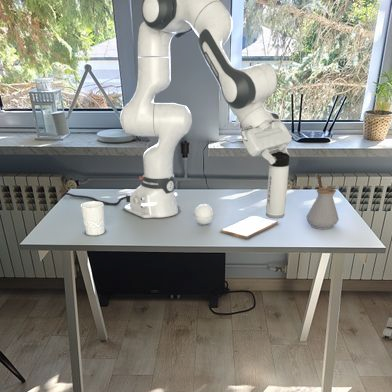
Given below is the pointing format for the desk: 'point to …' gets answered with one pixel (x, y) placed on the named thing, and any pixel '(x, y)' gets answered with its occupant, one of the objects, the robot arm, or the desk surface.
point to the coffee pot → (323, 208)
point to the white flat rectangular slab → (249, 227)
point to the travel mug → (277, 186)
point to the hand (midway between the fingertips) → (281, 160)
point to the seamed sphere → (203, 214)
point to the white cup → (93, 217)
